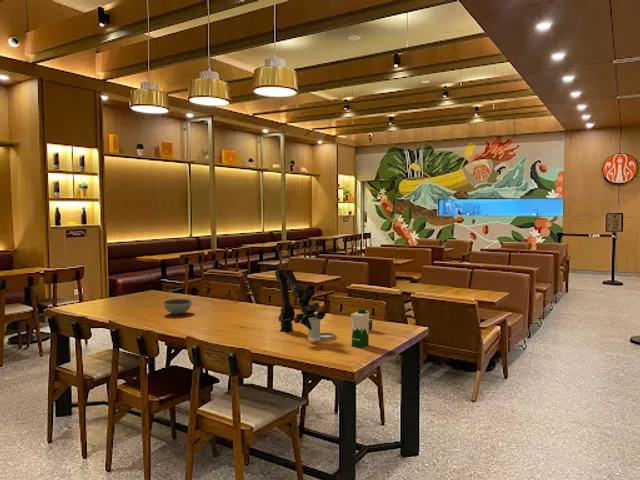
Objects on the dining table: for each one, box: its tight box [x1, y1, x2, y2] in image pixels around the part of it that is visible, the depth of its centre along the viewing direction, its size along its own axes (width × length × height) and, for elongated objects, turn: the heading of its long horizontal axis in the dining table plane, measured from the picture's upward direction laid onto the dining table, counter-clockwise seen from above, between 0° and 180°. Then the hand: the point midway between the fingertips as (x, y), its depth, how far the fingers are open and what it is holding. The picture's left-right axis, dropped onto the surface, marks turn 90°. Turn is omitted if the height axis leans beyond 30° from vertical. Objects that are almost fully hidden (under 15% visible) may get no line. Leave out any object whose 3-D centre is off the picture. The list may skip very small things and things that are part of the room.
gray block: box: [307, 318, 321, 342], centre depth 278 cm, size 5×5×12 cm
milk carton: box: [350, 308, 370, 348], centre depth 272 cm, size 9×9×20 cm
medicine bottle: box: [365, 310, 373, 332], centre depth 307 cm, size 7×7×12 cm
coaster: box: [319, 332, 337, 341], centre depth 290 cm, size 12×12×2 cm
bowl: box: [162, 298, 193, 316], centre depth 363 cm, size 21×21×10 cm
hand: (315, 329), depth 277 cm, fingers closed on gray block, 5 cm apart
